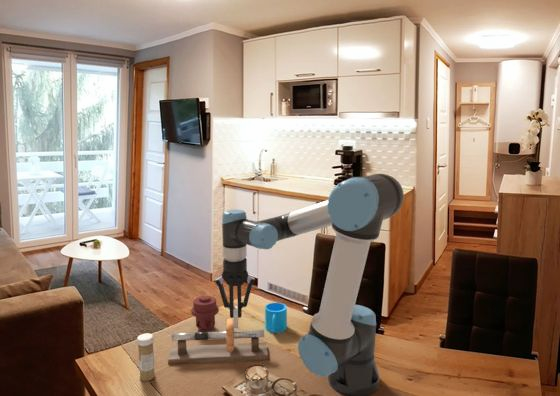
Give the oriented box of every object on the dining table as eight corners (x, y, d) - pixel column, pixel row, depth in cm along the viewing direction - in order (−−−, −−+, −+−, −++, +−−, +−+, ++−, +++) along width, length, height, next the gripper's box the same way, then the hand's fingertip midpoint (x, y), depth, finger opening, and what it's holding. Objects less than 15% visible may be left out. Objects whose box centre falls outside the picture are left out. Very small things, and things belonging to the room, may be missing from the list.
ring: (233, 352, 140) (233, 329, 139) (226, 352, 140) (225, 329, 139) (234, 339, 148) (233, 318, 147) (227, 340, 148) (226, 318, 146)
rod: (263, 335, 146) (263, 328, 145) (264, 338, 143) (264, 331, 143) (173, 338, 143) (172, 331, 143) (171, 342, 141) (171, 335, 140)
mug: (266, 321, 168) (266, 302, 166) (287, 322, 167) (287, 303, 166) (262, 337, 156) (262, 316, 155) (284, 338, 155) (284, 317, 154)
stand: (267, 359, 142) (267, 342, 141) (168, 363, 139) (167, 347, 138) (266, 346, 150) (266, 331, 149) (172, 350, 147) (171, 334, 146)
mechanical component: (196, 321, 168) (221, 323, 167) (188, 334, 158) (215, 335, 157) (195, 291, 166) (221, 292, 165) (187, 302, 156) (214, 303, 155)
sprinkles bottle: (141, 373, 134) (138, 333, 131) (156, 372, 134) (154, 332, 132) (138, 382, 129) (135, 340, 127) (153, 381, 130) (151, 339, 127)
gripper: (254, 253, 143) (255, 320, 147) (215, 254, 142) (216, 321, 146) (255, 261, 136) (255, 331, 140) (213, 262, 135) (215, 332, 139)
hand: (235, 326), depth 143 cm, fingers closed
